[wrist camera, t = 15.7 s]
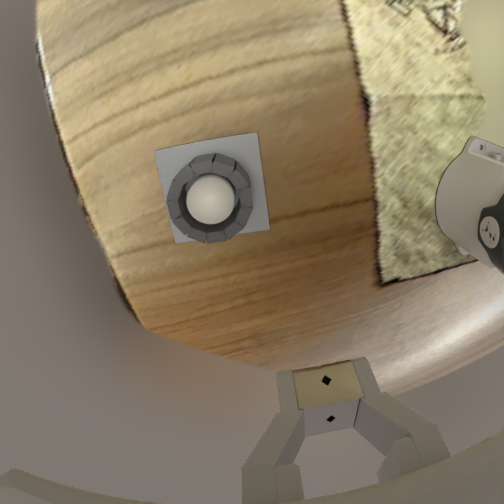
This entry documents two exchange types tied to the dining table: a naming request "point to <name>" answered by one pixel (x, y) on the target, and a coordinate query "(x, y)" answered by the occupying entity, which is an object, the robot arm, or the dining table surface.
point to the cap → (211, 198)
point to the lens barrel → (222, 163)
